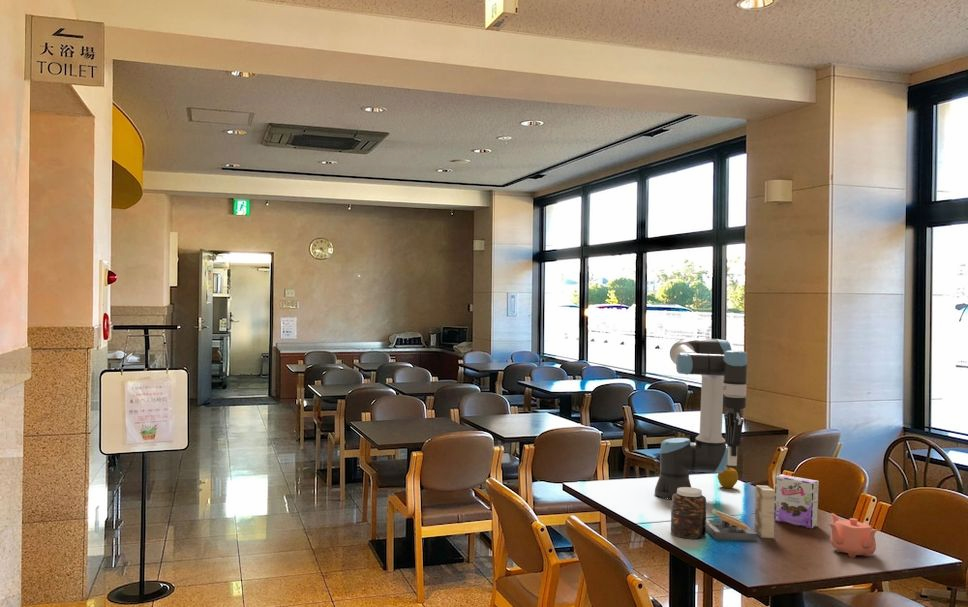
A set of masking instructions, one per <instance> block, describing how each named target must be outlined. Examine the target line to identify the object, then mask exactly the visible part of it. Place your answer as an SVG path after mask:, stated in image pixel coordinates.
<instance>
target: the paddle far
mask: <svg viewBox="0 0 968 607" xmlns="http://www.w3.org/2000/svg"><path fill="white" fill-rule="evenodd" d="M711 513H712V514H714V515H715V516H719V514H722V515H724V516H726V517H729V518H731V519H733V520H735V521H738V522H740V521H741V520H740V519H738V517H735V516H732V515H730V514H727V513H725V512H723V511H720V510H718V509H715V508H712V510H711Z"/></svg>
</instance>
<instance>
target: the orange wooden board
mask: <svg viewBox="0 0 968 607" xmlns="http://www.w3.org/2000/svg"><path fill="white" fill-rule="evenodd" d="M717 516H718V515H717ZM718 518H719V519H720V521H722V520H724V521H726V522H728V523H730V524H733V525H735V526H737V527H739V528H742V529H744V530H746V529H747V526H748V525H747V526H745V525H744V524H742V523H740V522H738V521H735V520H733V519H731V518H729V517H726V516H724V515H722V514H719V516H718Z"/></svg>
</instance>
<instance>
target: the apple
mask: <svg viewBox="0 0 968 607" xmlns="http://www.w3.org/2000/svg"><path fill="white" fill-rule="evenodd" d="M717 480H718V482H719V485H720V486H721V487H722V488H724V489H731V488H732V489H733V488H734V486H736V484H737V483H738V480H739V474H738V472H737V470H736V469H735V468H733V467H728V466H727V467H726V469H725V471H724V472H722V473H717Z"/></svg>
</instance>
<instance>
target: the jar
mask: <svg viewBox="0 0 968 607" xmlns="http://www.w3.org/2000/svg"><path fill="white" fill-rule="evenodd" d="M691 487H692V486H691ZM691 487H680V488H677V493H675V494H673V496H672V500H671V508H670V509H671V510H670V533H671V535H672V536H674V537H677V538H681V539H687V540H699V539H704V538H706V534H707V531H706V520H707V498H706V496H704V495H703V493H702V492H703V490H702V489H700V488H696V487H692V488H691Z"/></svg>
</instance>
